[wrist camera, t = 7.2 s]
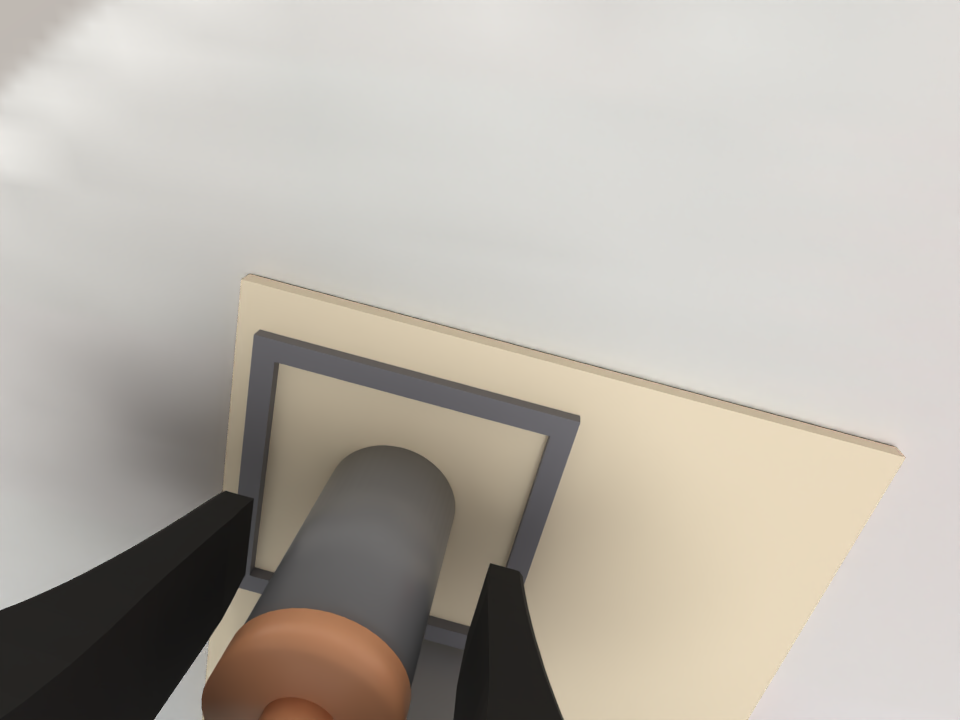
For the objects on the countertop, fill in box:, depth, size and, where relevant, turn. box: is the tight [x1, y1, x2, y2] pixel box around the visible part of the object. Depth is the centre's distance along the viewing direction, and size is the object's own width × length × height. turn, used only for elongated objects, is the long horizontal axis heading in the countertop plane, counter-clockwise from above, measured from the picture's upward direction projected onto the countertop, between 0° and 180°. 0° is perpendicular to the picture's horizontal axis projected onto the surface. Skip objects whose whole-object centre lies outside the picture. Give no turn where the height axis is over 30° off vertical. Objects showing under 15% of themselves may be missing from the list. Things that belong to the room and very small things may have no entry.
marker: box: [202, 445, 455, 720], centre depth 12 cm, size 3×3×6 cm
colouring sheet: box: [202, 274, 906, 720], centre depth 16 cm, size 14×14×1 cm
